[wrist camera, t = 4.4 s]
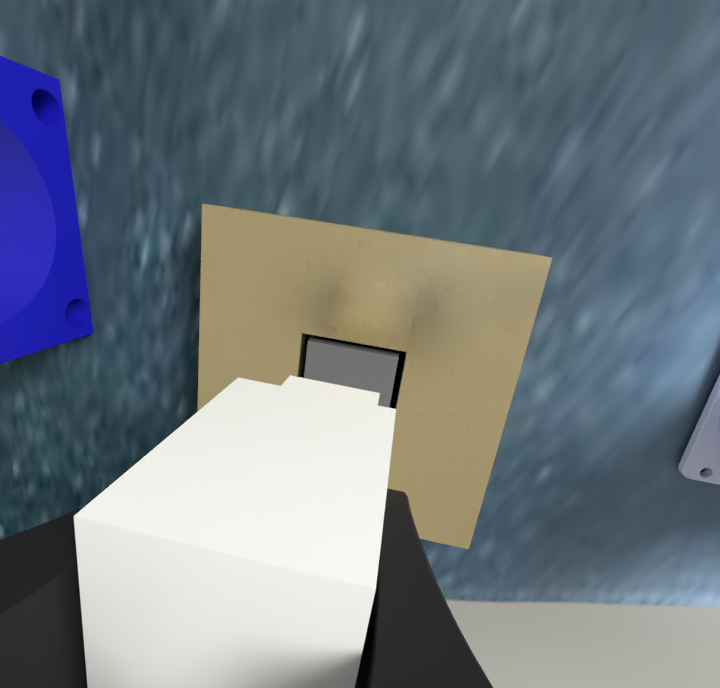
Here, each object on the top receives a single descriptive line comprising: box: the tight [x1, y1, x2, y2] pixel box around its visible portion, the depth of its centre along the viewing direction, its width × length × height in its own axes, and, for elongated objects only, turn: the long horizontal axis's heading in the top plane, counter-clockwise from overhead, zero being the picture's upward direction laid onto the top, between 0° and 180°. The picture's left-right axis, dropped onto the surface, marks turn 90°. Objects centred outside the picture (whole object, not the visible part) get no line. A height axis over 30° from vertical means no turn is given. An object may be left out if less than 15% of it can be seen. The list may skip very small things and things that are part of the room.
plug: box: [74, 375, 396, 688], centre depth 10 cm, size 4×5×8 cm
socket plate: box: [198, 204, 552, 549], centre depth 18 cm, size 14×14×3 cm
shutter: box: [304, 337, 399, 408], centre depth 18 cm, size 4×4×1 cm
